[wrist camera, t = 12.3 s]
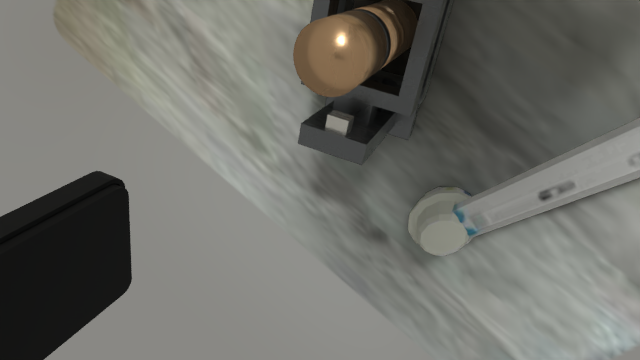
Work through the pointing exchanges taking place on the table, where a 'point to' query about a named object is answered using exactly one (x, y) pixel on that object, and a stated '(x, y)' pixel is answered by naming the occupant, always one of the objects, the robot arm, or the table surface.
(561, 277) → the table surface
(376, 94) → the collar bracket
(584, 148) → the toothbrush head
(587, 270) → the table surface
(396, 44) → the copper tube
